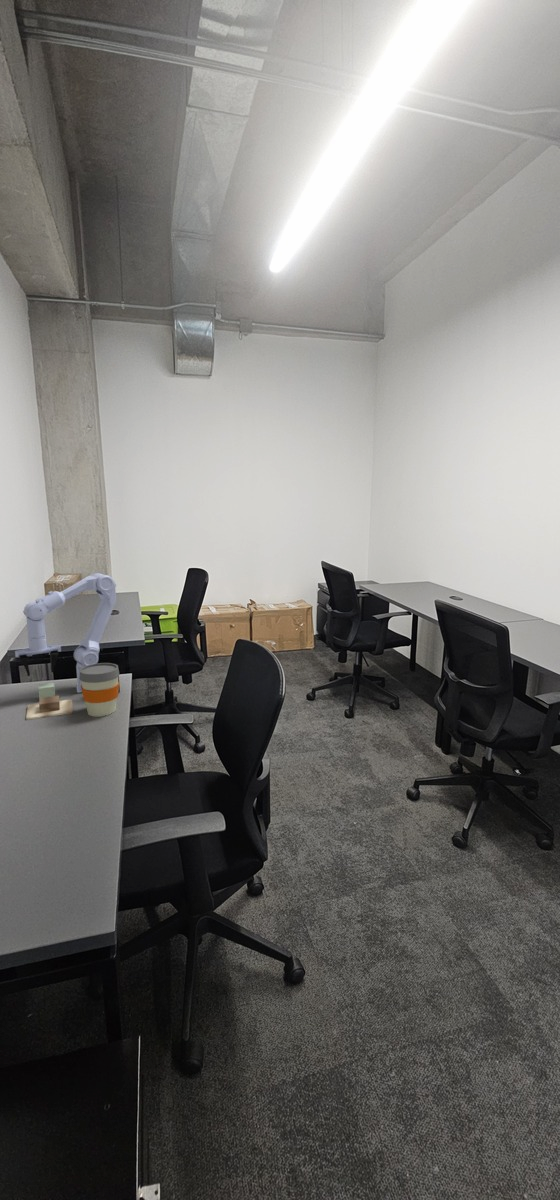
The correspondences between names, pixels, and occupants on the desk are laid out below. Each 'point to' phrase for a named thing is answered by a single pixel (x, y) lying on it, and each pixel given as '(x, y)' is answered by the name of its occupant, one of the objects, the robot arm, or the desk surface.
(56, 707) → the baseplate
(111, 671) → the reusable coffee cup
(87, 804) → the desk surface
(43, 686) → the sage cube
